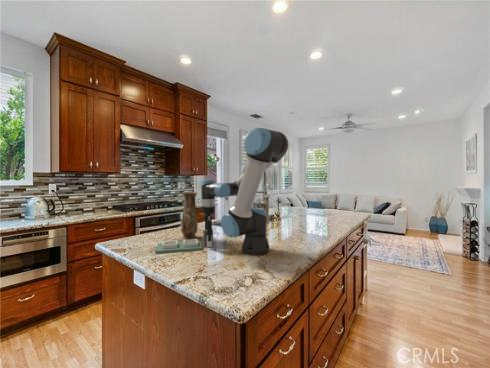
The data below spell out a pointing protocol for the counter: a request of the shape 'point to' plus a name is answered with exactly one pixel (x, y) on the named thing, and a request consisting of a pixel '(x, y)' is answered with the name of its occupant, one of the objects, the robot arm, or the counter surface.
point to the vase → (189, 216)
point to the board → (178, 246)
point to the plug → (206, 238)
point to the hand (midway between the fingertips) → (208, 243)
